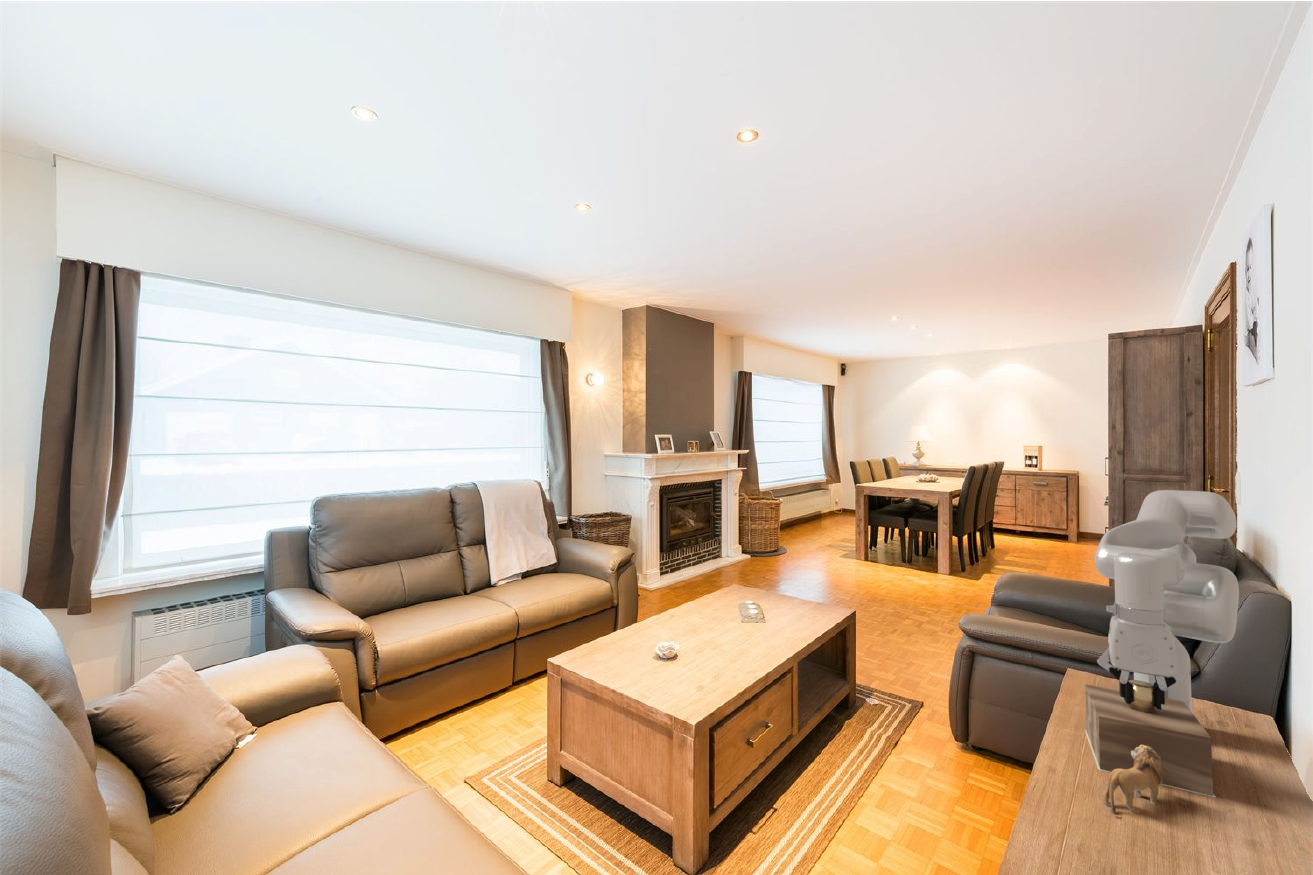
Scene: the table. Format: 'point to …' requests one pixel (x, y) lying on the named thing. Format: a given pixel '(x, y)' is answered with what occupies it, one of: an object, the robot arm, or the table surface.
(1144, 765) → the lion figurine
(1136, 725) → the walnut cover
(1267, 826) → the table surface
